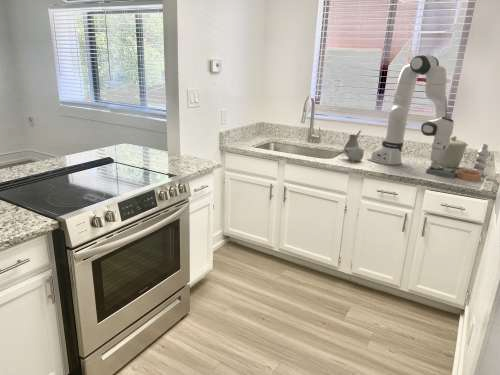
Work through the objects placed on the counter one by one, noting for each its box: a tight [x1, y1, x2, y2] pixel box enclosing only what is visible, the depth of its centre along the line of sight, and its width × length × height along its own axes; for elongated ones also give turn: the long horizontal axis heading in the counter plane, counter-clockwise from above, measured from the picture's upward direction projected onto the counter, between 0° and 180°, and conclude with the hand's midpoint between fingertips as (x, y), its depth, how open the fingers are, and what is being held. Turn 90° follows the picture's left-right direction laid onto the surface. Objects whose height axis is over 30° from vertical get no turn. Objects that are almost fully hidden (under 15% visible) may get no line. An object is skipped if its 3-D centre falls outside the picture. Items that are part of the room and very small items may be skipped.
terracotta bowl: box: [456, 169, 482, 182], centre depth 227 cm, size 12×12×4 cm
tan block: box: [430, 161, 441, 169], centre depth 235 cm, size 4×4×3 cm
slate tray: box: [425, 165, 459, 179], centre depth 235 cm, size 16×14×3 cm
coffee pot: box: [343, 130, 363, 154], centre depth 284 cm, size 21×12×15 cm, turn 146°
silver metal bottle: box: [472, 143, 490, 177], centre depth 233 cm, size 6×7×20 cm
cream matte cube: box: [443, 167, 453, 174], centre depth 233 cm, size 4×4×3 cm
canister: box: [440, 135, 469, 169], centre depth 252 cm, size 18×18×21 cm
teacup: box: [342, 147, 365, 162], centre depth 260 cm, size 14×11×8 cm
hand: (435, 165), depth 236 cm, fingers closed on tan block, 4 cm apart
